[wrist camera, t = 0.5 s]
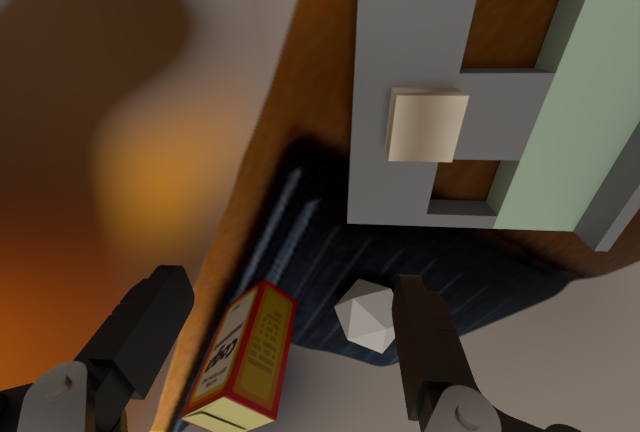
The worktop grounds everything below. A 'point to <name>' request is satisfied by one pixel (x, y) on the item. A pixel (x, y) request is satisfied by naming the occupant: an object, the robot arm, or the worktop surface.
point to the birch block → (424, 124)
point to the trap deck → (505, 120)
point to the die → (367, 315)
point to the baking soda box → (244, 363)
